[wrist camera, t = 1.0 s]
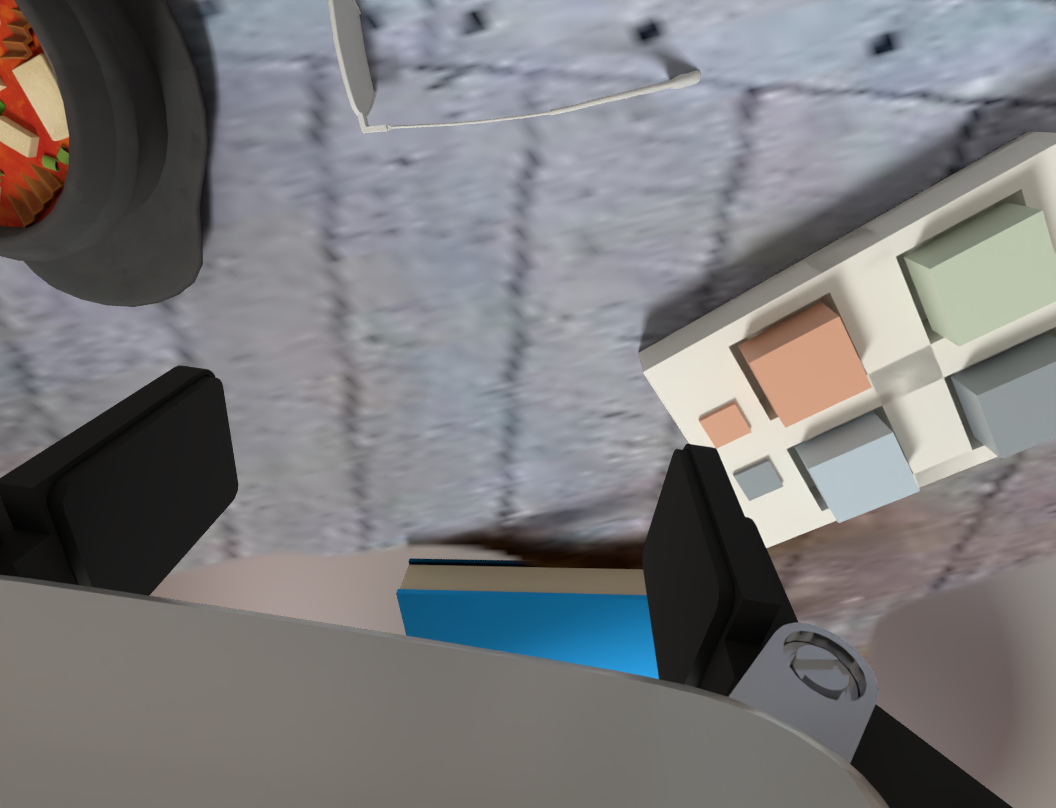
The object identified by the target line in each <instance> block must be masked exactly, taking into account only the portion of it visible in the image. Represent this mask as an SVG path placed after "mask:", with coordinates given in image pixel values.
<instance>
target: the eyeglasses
mask: <svg viewBox="0 0 1056 808" xmlns="http://www.w3.org/2000/svg"><path fill="white" fill-rule="evenodd" d="M328 4H329V12H330V19H331V25H332V32H333V39H334V44H335V48H336V53H337V57H338V62H339V66H340V70H341V74H342V78H343V82H344V85H345V89H346V92H347V95H348V98H349V101H350V104H351V106H352V109H353V110H354V112H355V113H356V115H357V116H358V119H359V123H360V127H361V130H362V133H371V132H381V131H390V130H391V129H393V128H413V127H432V126H451V125H464V124H476V123H485V122H494V121H502V120H511V119H520V118H528V117H534V116H541V115H548V114H550V115H555V114H559V113H564V112H568V111H573V110H577V109H581V108H585V107H589V106H593V105H598V104H602V103H606V102H610V101H615V100H619V99H624V98H629V97H633V96H637V95H642V94H647V93H653V92H656V91H660V90H663V89H670V88H673V89H682V88H684V87H686V86H689V85H694V84H696V83H698V82H699V80H700V78H701V72H700V71H696V70H695V71H692V72H689V73H686V74H680V75H678V76H676V77H674V78H673V79H671V80H668V81H665V82H661V83H657V84H652V85H649V86H646V87H642V88H639V89H635V90H631V91H626V92H623V93H619V94H615V95H611V96H607V97H602V98H598V99H594V100H591V101H587V102H584V103H580V104H576V105H572V106H567V107H563V108H558V109H553V110H550V112H543V113H536V114H530V115H522V116H514V117H505V118H496V119H487V120H479V121H468V122H455V123H439V124H419V125H400V126H391V125H380V126H370V127H369V125H368V121H367V116H368V115H369V113H370V111H371V109H372V107H373V104H374V101H375V97H376V91H374V89H373V85H372V80H371V76H370V71H369V67H368V62H367V57H366V52H365V46H364V40H363V34H362V28H361V21H360V15H359V14H361V12H360V9H359V7H358V5H357V4H356V2H355V0H328Z"/></svg>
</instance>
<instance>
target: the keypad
mask: <svg viewBox="0 0 1056 808" xmlns="http://www.w3.org/2000/svg"><path fill="white" fill-rule="evenodd" d="M1006 202H1008V203H1012V204H1017V205H1021V206H1026V207H1030V208H1035V209H1039V210H1043V213H1044V217H1045V220H1046V224H1047V228H1048V231H1049V235H1050V239H1051V242H1052V246H1053V249H1054V253H1055V257H1056V133H1049V132H1030V131H1028V132H1026V133H1025V134H1023V135H1021V136H1019V137H1018V138H1016V139H1014V140H1012V141H1010V142H1009V143H1007V144H1005V145H1003V146H1002V147H1000V148H998V149H996V150H995V151H993V152H991V153H989V154H988V155H986V156H984V157H982V158H981V159H979V160H977V161H975V162H973V163H972V164H970V165H968V166H966V167H965V168H963V169H961V170H959V171H958V172H956V173H954V174H952V175H951V176H949V177H947V178H945V179H944V180H942V181H940V182H938V183H937V184H935V185H933V186H931V187H929V188H928V189H926V190H924V191H922V192H921V193H919V194H917V195H915V196H914V197H912V198H910V199H908V200H907V201H905V202H903V203H901V204H900V205H898V206H896V207H894V208H892V209H891V210H889V211H887V212H885V213H884V214H882V215H880V216H878V217H877V218H875V219H873V220H871V221H870V222H868V223H866V224H864V225H863V226H861V227H859V228H857V229H855V230H854V231H852V232H850V233H848V234H847V235H845V236H843V237H841V238H840V239H838V240H836V241H834V242H833V243H831V244H829V245H827V246H826V247H824V248H822V249H820V250H819V251H817V252H815V253H813V254H811V255H810V256H808V257H806V258H804V259H803V260H801V261H799V262H797V263H796V264H794V265H792V266H790V267H789V268H787V269H785V270H783V271H782V272H780V273H778V274H776V275H774V276H773V277H771V278H769V279H767V280H766V281H764V282H762V283H760V284H759V285H757V286H755V287H753V288H752V289H750V290H748V291H746V292H745V293H743V294H741V295H739V296H737V297H736V298H734V299H732V300H730V301H729V302H727V303H725V304H723V305H722V306H720V307H718V308H716V309H715V310H713V311H711V312H709V313H708V314H706V315H704V316H702V317H700V318H699V319H697V320H695V321H693V322H692V323H690V324H688V325H686V326H685V327H683V328H681V329H679V330H678V331H676V332H674V333H672V334H671V335H669V336H667V337H665V338H664V339H662V340H660V341H658V342H656V343H655V344H653V345H651V346H649V347H648V348H646V349H644V350H642V351H641V352H639V353H638V354H639V358H640V362H641V366H642V370H643V373H644V375H645V376H646V378H647V379H648V381H649V382H650V384H651V385H652V387H653V388H654V390H655V391H656V393H657V394H658V396H659V398H660V399H661V401H662V402H663V404H664V405H665V407H666V408H667V410H668V411H669V413H670V414H671V416H672V417H673V419H674V421H675V422H676V424H677V425H678V427H679V428H680V430H681V431H682V433H683V434H684V436H685V437H686V439H687V441H688V442H689V444H693V445H700V446H706V447H713V448H716V449H717V451H718V453H719V455H720V458H721V460H722V463H723V465H724V467H725V470H726V472H727V475H728V477H729V479H730V482H731V484H732V487H733V489H734V491H735V494H736V496H737V499H738V501H739V504H740V506H741V508H742V511H743V513H744V516H745V517H749V518H751V519H752V520H753V521H754V523H755V524H756V526H757V528H758V531H759V533H760V535H761V538H762V540H763V542H764V544H765V547H766V548H768V547H771V546H773V545H776V544H778V543H781V542H783V541H786V540H788V539H791V538H793V537H796V536H798V535H801V534H803V533H806V532H808V531H811V530H813V529H816V528H818V527H821V526H824V525H826V524H829V523H831V522H834V521H836V518H835V517H834V515H833V514H832V512H831V510H830V509H829V507H828V506H827V504H826V502H825V501H824V499H823V497H822V496H821V494H820V492H819V490H818V488H817V487H816V485H815V483H814V481H813V480H812V478H811V476H810V474H809V472H808V471H807V469H806V467H805V465H804V463H803V462H802V460H801V458H800V456H799V454H798V453H797V451H796V449H795V446H798V445H800V444H802V443H804V442H806V441H809V440H811V439H813V438H815V437H817V436H820V435H822V434H824V433H826V432H828V431H831V430H833V429H835V428H837V427H839V426H842V425H844V424H846V423H848V422H850V421H853V420H855V419H857V418H859V417H862V416H864V415H866V414H868V413H870V412H874V413H875V414H876V415H877V416H878V417H879V418H880V419H881V420H882V421H883V422H884V423H885V425H886V426H887V427H888V428H889V429H890V430H891V431H892V432H893V433H894V435H895V438H896V440H897V442H898V444H899V446H900V448H901V451H902V453H903V455H904V457H905V459H906V461H907V464H908V466H909V468H910V470H911V472H912V474H913V477H914V479H915V481H916V483H917V485H918V487H922V486H924V485H927V484H929V483H932V482H934V481H937V480H940V479H942V478H945V477H947V476H950V475H952V474H955V473H957V472H960V471H962V470H965V469H967V468H970V467H972V466H975V465H977V464H980V463H982V462H985V461H987V460H990V459H992V458H995V457H998V456H997V455H995V454H994V453H993V452H992V451H991V450H989V449H988V448H987V447H986V446H985V445H983V444H982V443H981V442H980V441H979V440H977V439H976V438H975V437H974V435H973V433H972V430H971V428H970V425H969V423H968V420H967V417H966V415H965V412H964V410H963V407H962V405H961V402H960V400H959V397H958V394H957V392H956V389H955V387H954V384H953V382H952V379H951V377H950V376H952V375H954V374H956V373H959V372H961V371H963V370H965V369H967V368H970V367H972V366H974V365H976V364H978V363H981V362H983V361H985V360H987V359H990V358H992V357H994V356H996V355H998V354H1001V353H1003V352H1005V351H1007V350H1009V349H1012V348H1014V347H1016V346H1018V345H1020V344H1023V343H1025V342H1027V341H1029V340H1031V339H1034V338H1036V337H1038V336H1040V335H1042V334H1045V333H1046V334H1048V335H1050V336H1052V337H1054V338H1056V302H1053V303H1051V304H1049V305H1047V306H1045V307H1043V308H1041V309H1038V310H1036V311H1034V312H1032V313H1030V314H1028V315H1026V316H1023V317H1021V318H1019V319H1017V320H1015V321H1013V322H1011V323H1009V324H1006V325H1004V326H1002V327H1000V328H998V329H996V330H994V331H991V332H989V333H987V334H985V335H983V336H981V337H979V338H976V339H974V340H972V341H970V342H968V343H966V344H964V345H961V346H957V345H955V344H954V343H952V342H951V341H949V340H947V339H946V338H944V337H943V336H941V335H939V334H938V333H936V332H935V331H933V330H932V328H931V326H930V323H929V320H928V318H927V315H926V313H925V310H924V308H923V305H922V303H921V300H920V297H919V295H918V292H917V290H916V287H915V285H914V282H913V280H912V277H911V275H910V272H909V269H908V267H907V264H906V262H905V259H904V257H905V256H907V255H908V254H910V253H912V252H914V251H916V250H918V249H920V248H922V247H923V246H925V245H927V244H929V243H931V242H933V241H935V240H936V239H938V238H940V237H942V236H944V235H946V234H948V233H950V232H951V231H953V230H955V229H957V228H959V227H961V226H963V225H964V224H966V223H968V222H970V221H972V220H974V219H976V218H978V217H979V216H981V215H983V214H985V213H987V212H989V211H991V210H992V209H994V208H996V207H998V206H1000V205H1002V204H1004V203H1006ZM819 302H822V303H824V304H825V305H826V306H827V307H829V308H830V309H831V310H832V311H833V312H835V313H836V314H837V315H838V316H839V317H840V319H841V321H842V323H843V325H844V327H845V330H846V332H847V334H848V336H849V338H850V340H851V343H852V345H853V347H854V349H855V351H856V353H857V355H858V358H859V360H860V362H861V364H862V366H863V368H864V371H865V373H866V375H867V377H868V379H869V381H870V384H871V386H872V388H870V389H867V390H865V391H863V392H861V393H859V394H857V395H855V396H852V397H850V398H848V399H846V400H844V401H842V402H840V403H837V404H835V405H833V406H831V407H829V408H827V409H825V410H823V411H820V412H818V413H816V414H814V415H812V416H810V417H808V418H805V419H803V420H801V421H799V422H797V423H795V424H793V425H790V426H788V427H786V428H785V426H784V425H783V423H782V422H781V420H780V419H779V417H778V416H777V414H776V413H775V411H774V409H773V408H772V406H771V404H770V403H769V401H768V399H767V397H766V395H765V394H764V392H763V390H762V388H761V386H760V385H759V383H758V381H757V379H756V377H755V376H754V374H753V372H752V370H751V369H750V367H749V365H748V363H747V361H746V360H745V358H744V356H743V354H742V352H741V351H740V349H739V347H738V346H739V345H740V344H742V343H744V342H746V341H748V340H750V339H752V338H753V337H755V336H757V335H759V334H761V333H763V332H765V331H767V330H768V329H770V328H772V327H774V326H776V325H778V324H780V323H781V322H783V321H785V320H787V319H789V318H791V317H793V316H795V315H796V314H798V313H800V312H802V311H804V310H806V309H808V308H809V307H811V306H813V305H815V304H817V303H819Z"/></svg>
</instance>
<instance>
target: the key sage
mask: <svg viewBox="0 0 1056 808" xmlns="http://www.w3.org/2000/svg"><path fill="white" fill-rule="evenodd" d="M904 259H905V262H906V264H907V267H908V269H909V272H910V275H911V277H912V280H913V282H914V285H915V287H916V290H917V292H918V295H919V297H920V300H921V303H922V305H923V308H924V310H925V313H926V315H927V318H928V320H929V323H930V326H931V328H932V330H933V331H935V332H936V333H938V334H939V335H941V336H943V337H944V338H946V339H947V340H949V341H951V342H952V343H954V344H955V345H957V346H961V345H964V344H966V343H968V342H970V341H972V340H974V339H976V338H979V337H981V336H983V335H985V334H987V333H989V332H991V331H994V330H996V329H998V328H1000V327H1002V326H1004V325H1006V324H1009V323H1011V322H1013V321H1015V320H1017V319H1019V318H1021V317H1023V316H1026V315H1028V314H1030V313H1032V312H1034V311H1036V310H1038V309H1041V308H1043V307H1045V306H1047V305H1049V304H1051V303H1053V302H1056V257H1055V253H1054V249H1053V246H1052V242H1051V239H1050V235H1049V231H1048V228H1047V224H1046V220H1045V217H1044V213H1043V210H1039V209H1035V208H1030V207H1026V206H1021V205H1017V204H1012V203H1008V202H1006V203H1004V204H1002V205H1000V206H998V207H996V208H994V209H992V210H991V211H989V212H987V213H985V214H983V215H981V216H979V217H978V218H976V219H974V220H972V221H970V222H968V223H966V224H964V225H963V226H961V227H959V228H957V229H955V230H953V231H951V232H950V233H948V234H946V235H944V236H942V237H940V238H938V239H936V240H935V241H933V242H931V243H929V244H927V245H925V246H923V247H922V248H920V249H918V250H916V251H914V252H912V253H910V254H908V255H907V256H905V257H904Z"/></svg>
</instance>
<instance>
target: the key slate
mask: <svg viewBox="0 0 1056 808" xmlns="http://www.w3.org/2000/svg"><path fill="white" fill-rule="evenodd" d="M950 377H951V379H952V382H953V384H954V387H955V389H956V392H957V394H958V397H959V400H960V402H961V405H962V407H963V410H964V412H965V415H966V417H967V420H968V423H969V425H970V428H971V430H972V433H973V435H974V437H975V438H976V439H977V440H979V441H980V442H981V443H982V444H983V445H985V446H986V447H987V448H988V449H989V450H991V451H992V452H993V453H994V454H995V455H997V456H998V457H999V458H1000V459H1003V458H1005V457H1008V456H1010V455H1013V454H1015V453H1018V452H1020V451H1023V450H1025V449H1028V448H1030V447H1033V446H1036V445H1038V444H1041V443H1043V442H1046V441H1048V440H1051V439H1053V438H1056V338H1054V337H1052V336H1050V335H1048V334H1046V333H1045V334H1042V335H1040V336H1038V337H1036V338H1034V339H1031V340H1029V341H1027V342H1025V343H1023V344H1020V345H1018V346H1016V347H1014V348H1012V349H1009V350H1007V351H1005V352H1003V353H1001V354H998V355H996V356H994V357H992V358H990V359H987V360H985V361H983V362H981V363H978V364H976V365H974V366H972V367H970V368H967V369H965V370H963V371H961V372H959V373H956V374H954V375H952V376H950Z"/></svg>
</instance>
